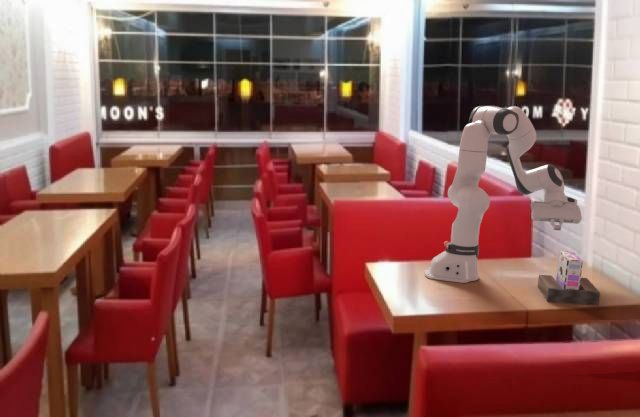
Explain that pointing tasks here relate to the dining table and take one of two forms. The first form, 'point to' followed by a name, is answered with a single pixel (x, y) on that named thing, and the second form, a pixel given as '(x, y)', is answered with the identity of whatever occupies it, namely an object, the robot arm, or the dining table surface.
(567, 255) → the candy box
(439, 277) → the robot arm
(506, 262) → the dining table surface
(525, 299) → the dining table surface
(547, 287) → the cradle
